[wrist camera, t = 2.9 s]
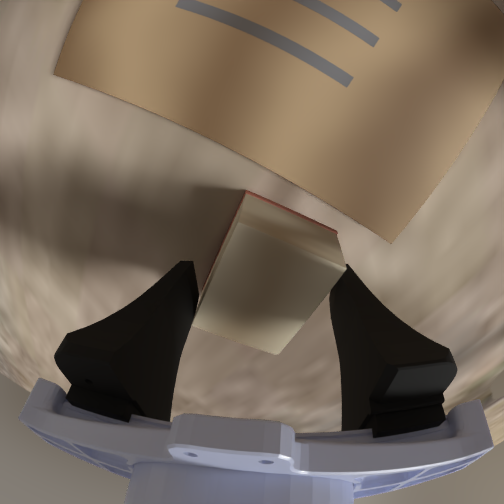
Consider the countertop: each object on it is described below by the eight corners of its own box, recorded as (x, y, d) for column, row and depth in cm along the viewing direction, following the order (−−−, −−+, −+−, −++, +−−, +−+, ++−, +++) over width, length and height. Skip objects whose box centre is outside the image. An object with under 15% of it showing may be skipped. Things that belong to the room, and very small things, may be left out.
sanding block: (336, 228, 14) (348, 268, 11) (279, 312, 17) (277, 355, 14) (246, 187, 13) (237, 220, 10) (204, 283, 16) (190, 325, 13)
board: (508, 38, 6) (523, 38, 5) (383, 231, 13) (391, 244, 12) (198, -128, 3) (192, -139, 2) (68, 72, 10) (53, 74, 9)
